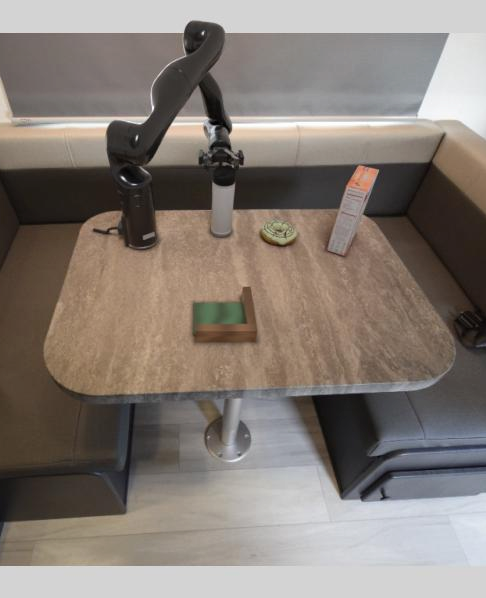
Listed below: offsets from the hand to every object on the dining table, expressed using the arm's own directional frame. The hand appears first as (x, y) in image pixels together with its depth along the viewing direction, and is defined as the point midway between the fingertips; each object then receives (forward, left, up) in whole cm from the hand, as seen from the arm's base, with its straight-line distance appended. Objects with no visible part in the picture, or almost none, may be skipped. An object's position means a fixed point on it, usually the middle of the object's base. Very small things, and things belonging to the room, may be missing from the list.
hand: (222, 168), depth 106 cm
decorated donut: (+17, -14, -15) cm, 27 cm away
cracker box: (+36, -16, -15) cm, 42 cm away
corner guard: (-1, -47, -15) cm, 50 cm away
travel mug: (0, -11, -15) cm, 19 cm away
